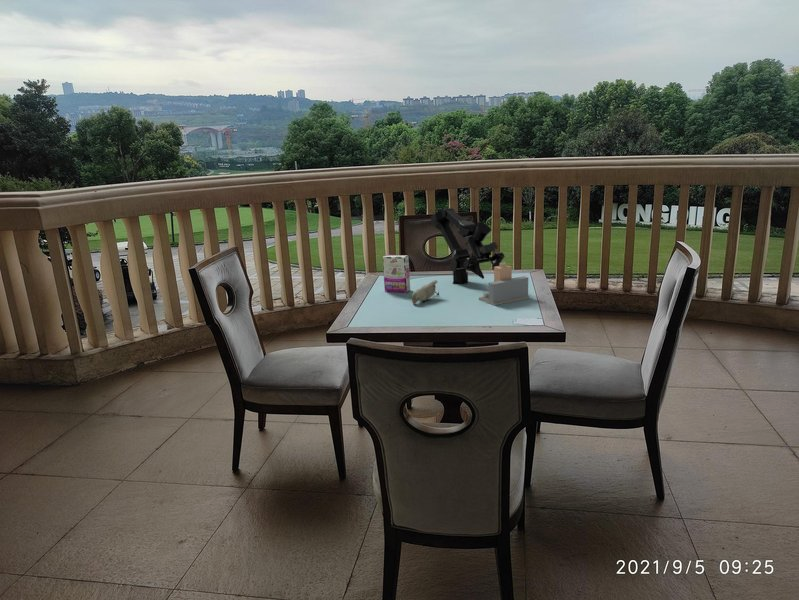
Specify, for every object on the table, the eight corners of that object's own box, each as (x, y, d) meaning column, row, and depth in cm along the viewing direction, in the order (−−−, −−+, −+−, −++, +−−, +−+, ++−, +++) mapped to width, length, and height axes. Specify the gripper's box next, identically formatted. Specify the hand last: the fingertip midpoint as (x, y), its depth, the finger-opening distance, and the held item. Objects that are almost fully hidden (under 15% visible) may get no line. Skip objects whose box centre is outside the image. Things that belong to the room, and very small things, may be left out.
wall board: (478, 299, 230) (478, 279, 228) (512, 292, 238) (512, 272, 235) (494, 305, 221) (494, 284, 218) (529, 298, 228) (529, 277, 226)
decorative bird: (408, 304, 229) (407, 287, 227) (432, 295, 240) (431, 279, 238) (418, 306, 225) (417, 289, 223) (441, 297, 237) (441, 280, 235)
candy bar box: (410, 289, 250) (409, 255, 245) (406, 292, 246) (405, 257, 241) (388, 288, 254) (386, 254, 249) (384, 291, 250) (382, 256, 245)
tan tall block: (494, 296, 230) (494, 263, 226) (505, 294, 233) (505, 261, 229) (499, 298, 227) (499, 264, 223) (511, 296, 229) (511, 262, 225)
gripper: (466, 239, 230) (482, 269, 224) (502, 234, 238) (518, 263, 231) (457, 254, 239) (471, 283, 233) (491, 248, 247) (506, 277, 241)
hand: (492, 276), depth 234 cm, fingers open, 9 cm apart
